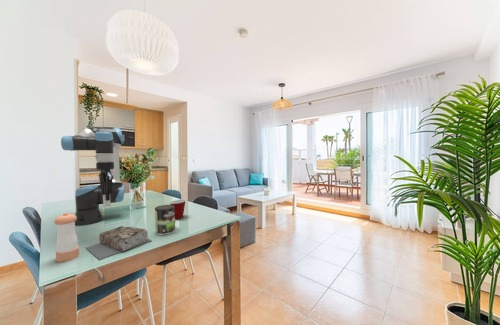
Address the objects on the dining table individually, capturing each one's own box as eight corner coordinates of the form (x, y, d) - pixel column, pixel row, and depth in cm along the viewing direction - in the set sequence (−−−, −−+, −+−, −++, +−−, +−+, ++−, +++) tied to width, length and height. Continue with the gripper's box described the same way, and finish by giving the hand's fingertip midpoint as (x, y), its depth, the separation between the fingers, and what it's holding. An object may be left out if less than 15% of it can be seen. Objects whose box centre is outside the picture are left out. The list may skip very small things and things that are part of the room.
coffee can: (179, 230, 114) (178, 206, 113) (163, 236, 105) (162, 210, 105) (167, 226, 119) (167, 203, 119) (151, 232, 111) (150, 207, 110)
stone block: (99, 246, 97) (123, 253, 88) (97, 232, 97) (121, 238, 88) (126, 234, 109) (150, 239, 100) (124, 222, 109) (148, 226, 99)
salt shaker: (83, 252, 89) (81, 210, 88) (69, 261, 81) (66, 215, 80) (66, 253, 88) (64, 210, 88) (50, 262, 81) (48, 216, 80)
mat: (85, 248, 93) (85, 247, 93) (135, 232, 111) (135, 232, 111) (99, 260, 82) (99, 259, 82) (151, 241, 100) (151, 240, 100)
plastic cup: (174, 215, 142) (173, 198, 141) (188, 215, 140) (188, 199, 140) (166, 220, 131) (165, 202, 130) (182, 220, 130) (181, 202, 129)
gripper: (92, 161, 104) (94, 206, 106) (101, 162, 97) (103, 210, 98) (108, 161, 110) (110, 203, 112) (118, 161, 103) (120, 206, 104)
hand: (107, 206), depth 105 cm, fingers closed
